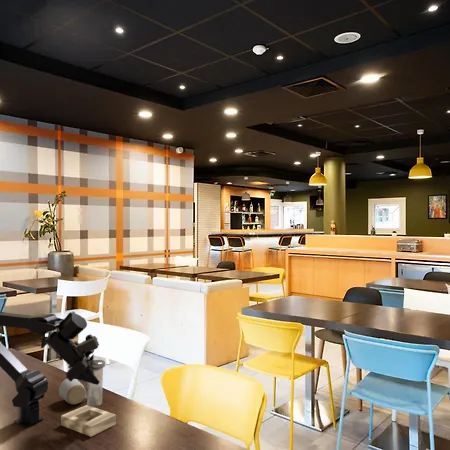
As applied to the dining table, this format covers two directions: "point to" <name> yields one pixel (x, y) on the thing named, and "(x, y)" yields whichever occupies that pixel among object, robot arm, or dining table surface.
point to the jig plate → (93, 426)
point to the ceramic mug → (72, 391)
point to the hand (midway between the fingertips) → (99, 380)
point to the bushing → (95, 390)
